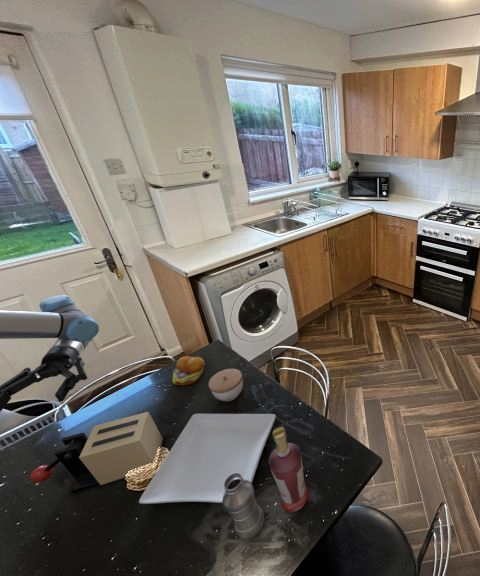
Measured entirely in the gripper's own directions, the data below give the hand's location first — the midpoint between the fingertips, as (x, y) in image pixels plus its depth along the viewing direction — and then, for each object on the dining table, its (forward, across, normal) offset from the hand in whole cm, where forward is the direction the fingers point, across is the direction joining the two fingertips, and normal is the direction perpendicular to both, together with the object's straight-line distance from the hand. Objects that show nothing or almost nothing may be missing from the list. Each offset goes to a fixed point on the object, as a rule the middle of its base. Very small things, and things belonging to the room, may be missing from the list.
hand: (26, 405), depth 82 cm
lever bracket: (+10, -10, -22) cm, 25 cm away
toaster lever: (+10, -6, -15) cm, 18 cm away
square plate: (+18, -42, -22) cm, 51 cm away
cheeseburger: (-22, -31, -21) cm, 43 cm away
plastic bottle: (+40, -51, -22) cm, 69 cm away
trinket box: (-7, -45, -21) cm, 50 cm away
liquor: (+38, -62, -22) cm, 76 cm away
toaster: (+10, -20, -22) cm, 31 cm away
